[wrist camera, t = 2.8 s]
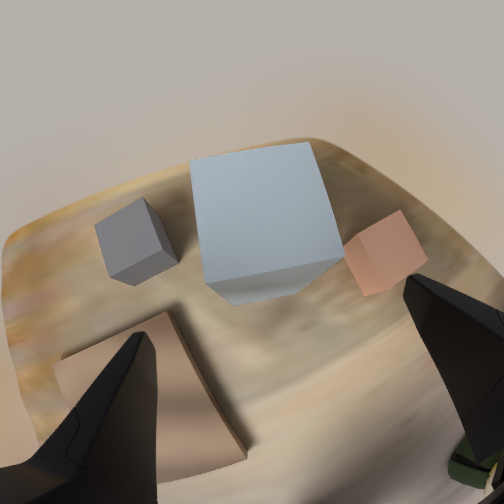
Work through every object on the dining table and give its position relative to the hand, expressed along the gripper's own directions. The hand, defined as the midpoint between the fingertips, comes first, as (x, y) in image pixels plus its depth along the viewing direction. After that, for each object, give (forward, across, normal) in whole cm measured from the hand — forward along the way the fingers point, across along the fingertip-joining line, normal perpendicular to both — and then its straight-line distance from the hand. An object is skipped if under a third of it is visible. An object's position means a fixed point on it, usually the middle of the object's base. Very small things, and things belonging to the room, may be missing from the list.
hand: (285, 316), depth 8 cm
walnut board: (+4, +11, +12) cm, 16 cm away
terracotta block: (+9, -9, +6) cm, 14 cm away
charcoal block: (+12, +8, +3) cm, 15 cm away
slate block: (+10, 0, +5) cm, 11 cm away
